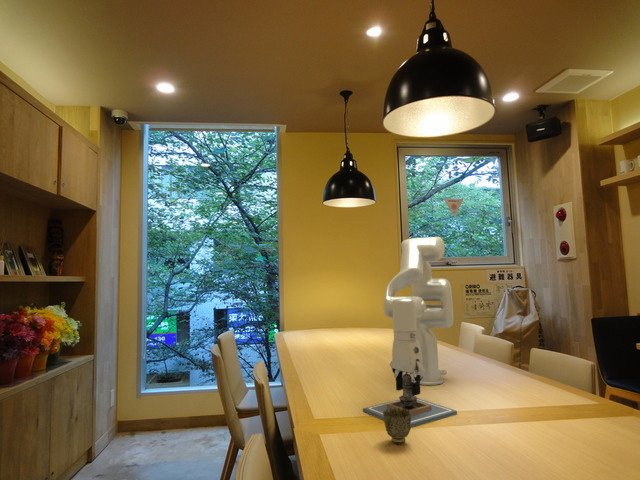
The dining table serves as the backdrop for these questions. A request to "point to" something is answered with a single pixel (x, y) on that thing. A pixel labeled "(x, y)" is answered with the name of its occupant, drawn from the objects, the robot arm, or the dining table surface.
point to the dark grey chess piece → (407, 393)
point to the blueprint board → (414, 411)
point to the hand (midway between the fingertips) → (408, 391)
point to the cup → (397, 424)
